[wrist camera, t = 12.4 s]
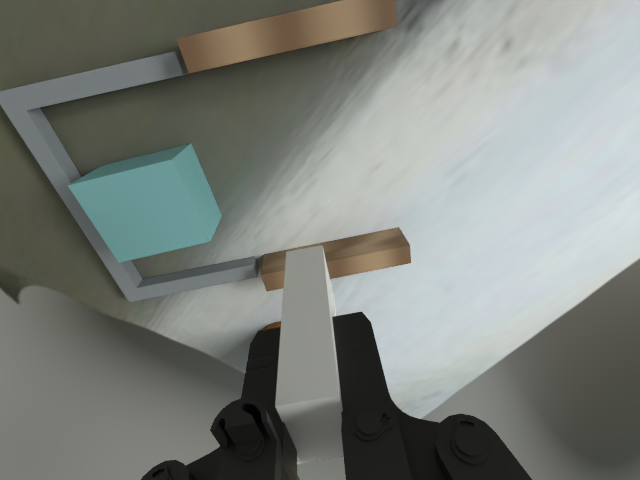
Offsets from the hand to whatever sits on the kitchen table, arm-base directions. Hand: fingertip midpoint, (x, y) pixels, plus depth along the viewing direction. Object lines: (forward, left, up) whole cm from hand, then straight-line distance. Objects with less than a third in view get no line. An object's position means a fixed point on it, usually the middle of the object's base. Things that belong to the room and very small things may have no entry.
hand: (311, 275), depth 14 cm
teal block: (+13, 0, -17) cm, 22 cm away
